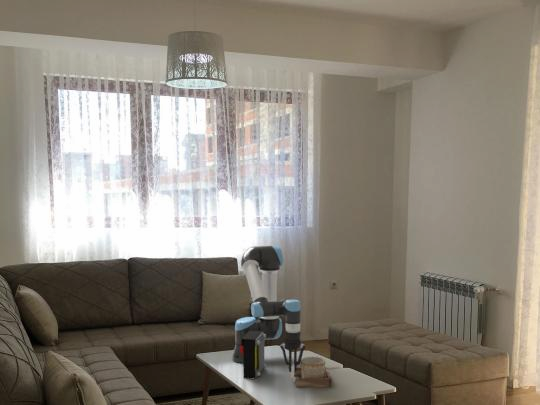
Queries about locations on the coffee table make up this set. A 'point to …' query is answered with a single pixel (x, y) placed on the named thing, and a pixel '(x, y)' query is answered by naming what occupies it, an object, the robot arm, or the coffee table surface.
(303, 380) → the walnut cradle
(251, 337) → the electrical component
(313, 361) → the planter
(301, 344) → the robot arm
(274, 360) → the coffee table surface
